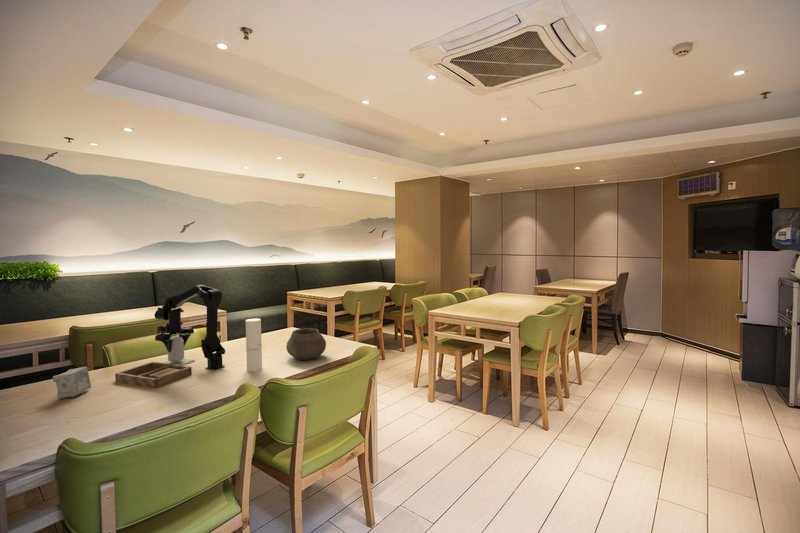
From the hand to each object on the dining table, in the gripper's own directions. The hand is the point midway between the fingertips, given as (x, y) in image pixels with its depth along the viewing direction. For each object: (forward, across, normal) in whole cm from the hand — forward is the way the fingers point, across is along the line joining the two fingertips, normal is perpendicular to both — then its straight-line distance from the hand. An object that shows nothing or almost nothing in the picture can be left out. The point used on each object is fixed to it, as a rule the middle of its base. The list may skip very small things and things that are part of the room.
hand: (175, 350), depth 201 cm
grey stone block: (+7, +45, -5) cm, 46 cm away
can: (+6, 0, 0) cm, 6 cm away
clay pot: (+8, -31, +59) cm, 67 cm away
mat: (+7, 0, 0) cm, 7 cm away
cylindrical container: (+8, -6, +45) cm, 46 cm away
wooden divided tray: (+7, +20, +10) cm, 24 cm away
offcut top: (+5, +20, +16) cm, 26 cm away
